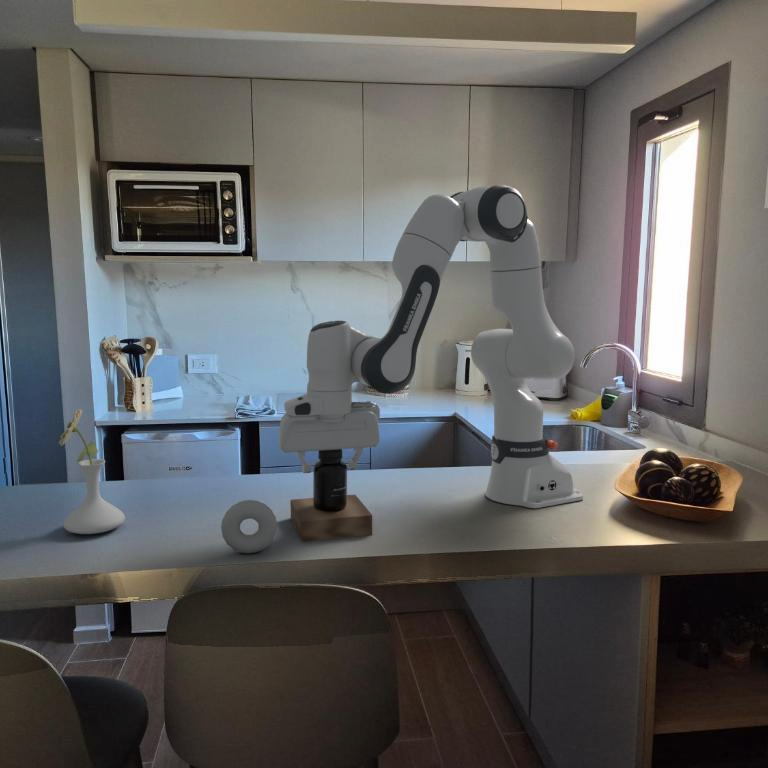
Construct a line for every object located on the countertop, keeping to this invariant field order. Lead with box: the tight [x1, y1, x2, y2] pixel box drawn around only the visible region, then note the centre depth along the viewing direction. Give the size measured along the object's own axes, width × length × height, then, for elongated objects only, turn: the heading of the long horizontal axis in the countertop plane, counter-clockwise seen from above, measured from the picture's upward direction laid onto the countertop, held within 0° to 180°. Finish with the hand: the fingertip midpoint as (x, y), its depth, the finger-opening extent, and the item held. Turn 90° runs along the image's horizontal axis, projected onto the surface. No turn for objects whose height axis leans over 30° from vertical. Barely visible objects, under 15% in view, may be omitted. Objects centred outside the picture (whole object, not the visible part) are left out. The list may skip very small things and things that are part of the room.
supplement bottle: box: [312, 449, 348, 511], centre depth 136 cm, size 7×7×12 cm
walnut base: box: [290, 494, 373, 542], centre depth 137 cm, size 14×14×4 cm
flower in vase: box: [58, 408, 126, 535], centre depth 132 cm, size 13×11×25 cm
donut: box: [220, 499, 278, 555], centre depth 122 cm, size 10×4×10 cm, turn 100°
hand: (329, 470), depth 136 cm, fingers open, 8 cm apart
